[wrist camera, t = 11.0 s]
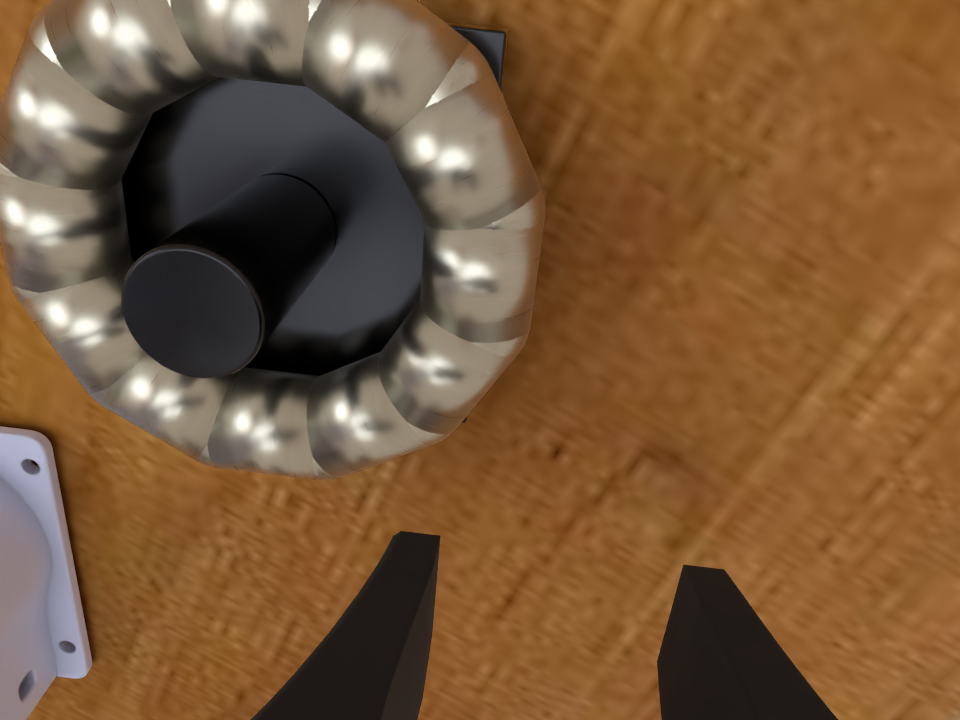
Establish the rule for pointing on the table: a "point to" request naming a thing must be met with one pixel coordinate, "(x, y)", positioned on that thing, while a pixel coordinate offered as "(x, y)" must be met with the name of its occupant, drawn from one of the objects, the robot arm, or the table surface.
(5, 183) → the segmented metal ring
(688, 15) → the table surface
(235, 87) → the tape post
